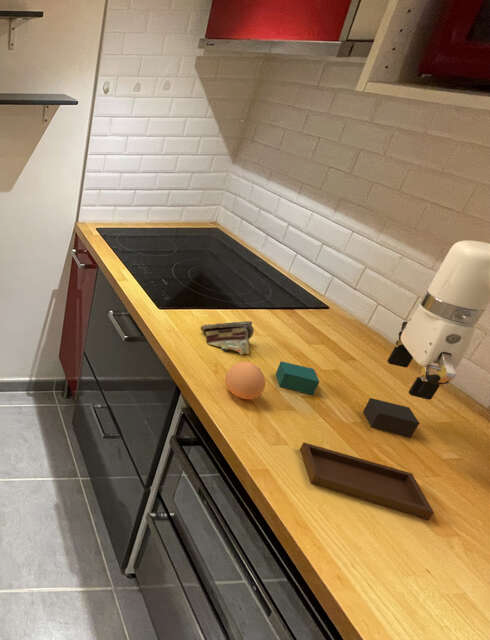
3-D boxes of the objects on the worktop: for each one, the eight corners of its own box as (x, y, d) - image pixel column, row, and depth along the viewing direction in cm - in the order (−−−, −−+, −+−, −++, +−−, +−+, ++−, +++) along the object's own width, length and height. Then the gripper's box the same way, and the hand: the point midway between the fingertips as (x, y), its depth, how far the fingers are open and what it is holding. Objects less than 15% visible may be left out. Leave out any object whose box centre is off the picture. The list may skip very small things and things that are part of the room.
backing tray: (407, 480, 81) (412, 473, 80) (428, 520, 74) (434, 512, 73) (299, 449, 86) (303, 442, 86) (310, 483, 80) (314, 476, 79)
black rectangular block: (401, 421, 93) (409, 407, 92) (411, 438, 89) (419, 423, 88) (362, 411, 96) (370, 397, 94) (370, 427, 92) (378, 412, 90)
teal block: (307, 382, 104) (313, 368, 102) (313, 395, 100) (319, 381, 98) (275, 374, 106) (280, 361, 104) (279, 386, 102) (284, 373, 100)
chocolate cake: (197, 347, 116) (245, 333, 107) (197, 326, 120) (242, 312, 112) (220, 368, 118) (268, 357, 109) (218, 347, 122) (264, 334, 114)
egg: (219, 379, 104) (229, 350, 101) (256, 389, 101) (267, 359, 98) (222, 400, 98) (233, 370, 94) (261, 411, 95) (273, 380, 92)
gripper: (509, 339, 72) (455, 417, 79) (452, 289, 87) (411, 359, 94) (448, 327, 75) (402, 403, 82) (403, 281, 89) (367, 349, 96)
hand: (407, 379), depth 88 cm, fingers open, 9 cm apart
